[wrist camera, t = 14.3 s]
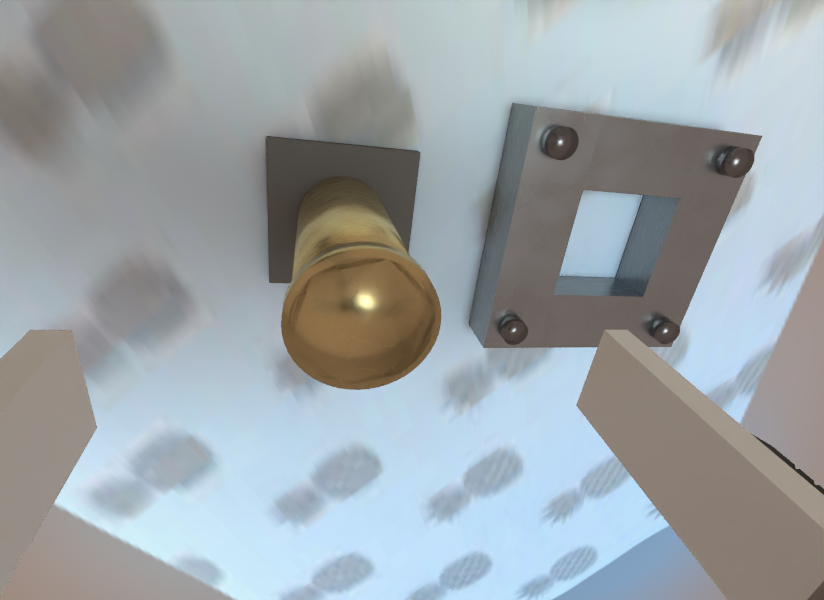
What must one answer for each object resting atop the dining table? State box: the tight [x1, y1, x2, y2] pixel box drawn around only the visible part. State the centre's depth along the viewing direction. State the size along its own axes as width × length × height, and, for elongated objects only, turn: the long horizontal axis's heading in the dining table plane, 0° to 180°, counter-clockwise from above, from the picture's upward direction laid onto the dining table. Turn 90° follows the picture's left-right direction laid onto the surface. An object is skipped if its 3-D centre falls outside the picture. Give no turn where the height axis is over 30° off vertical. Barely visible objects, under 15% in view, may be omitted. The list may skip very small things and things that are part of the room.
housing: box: [469, 103, 762, 348], centre depth 28 cm, size 14×14×4 cm
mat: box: [266, 136, 420, 283], centre depth 25 cm, size 8×8×1 cm
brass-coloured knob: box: [281, 176, 441, 390], centre depth 20 cm, size 5×5×12 cm
